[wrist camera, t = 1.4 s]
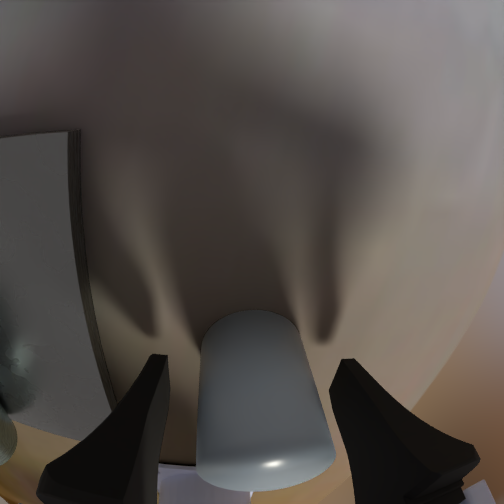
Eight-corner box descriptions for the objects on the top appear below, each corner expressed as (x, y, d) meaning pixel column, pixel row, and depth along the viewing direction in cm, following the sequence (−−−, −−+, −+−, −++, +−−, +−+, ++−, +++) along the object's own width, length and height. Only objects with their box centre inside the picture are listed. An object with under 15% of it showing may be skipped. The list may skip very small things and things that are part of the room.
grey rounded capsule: (290, 382, 15) (315, 486, 9) (200, 380, 14) (197, 490, 9) (310, 311, 13) (356, 428, 8) (202, 306, 12) (194, 435, 7)
